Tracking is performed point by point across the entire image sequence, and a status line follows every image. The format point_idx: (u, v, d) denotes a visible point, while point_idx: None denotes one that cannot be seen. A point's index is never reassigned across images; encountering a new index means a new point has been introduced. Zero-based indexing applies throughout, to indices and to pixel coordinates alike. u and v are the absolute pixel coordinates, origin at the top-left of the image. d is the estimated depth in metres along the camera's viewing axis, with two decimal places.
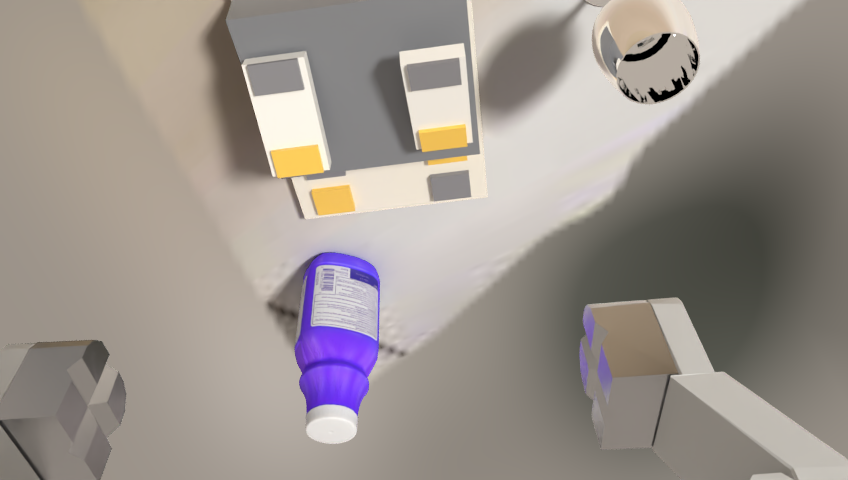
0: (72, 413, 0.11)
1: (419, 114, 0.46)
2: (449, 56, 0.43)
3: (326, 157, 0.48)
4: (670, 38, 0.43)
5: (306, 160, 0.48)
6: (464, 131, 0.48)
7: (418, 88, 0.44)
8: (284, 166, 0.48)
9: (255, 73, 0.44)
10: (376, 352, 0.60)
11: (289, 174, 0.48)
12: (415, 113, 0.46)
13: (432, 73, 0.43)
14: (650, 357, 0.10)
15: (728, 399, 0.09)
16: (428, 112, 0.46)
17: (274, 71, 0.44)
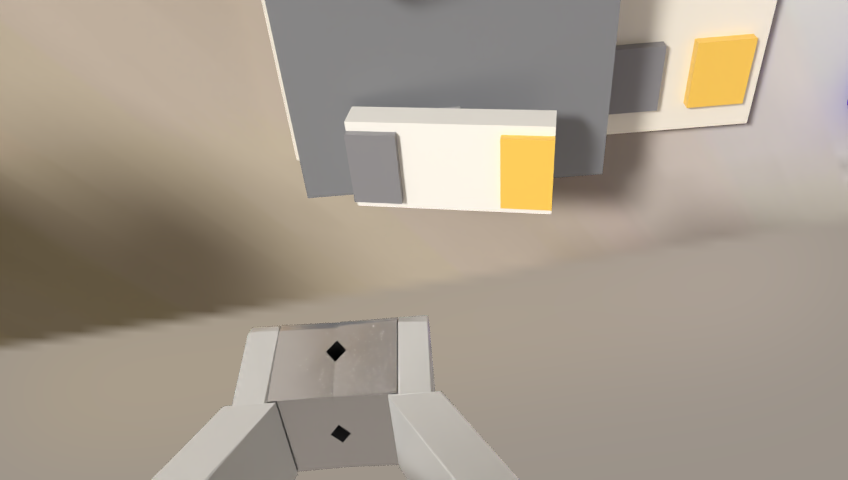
0: None
1: None
2: None
3: (530, 126, 0.26)
4: None
5: (525, 161, 0.26)
6: None
7: None
8: (531, 196, 0.27)
9: (365, 194, 0.29)
10: None
11: (547, 193, 0.27)
12: None
13: None
14: (376, 376, 0.10)
15: (433, 418, 0.10)
16: None
17: (363, 169, 0.28)
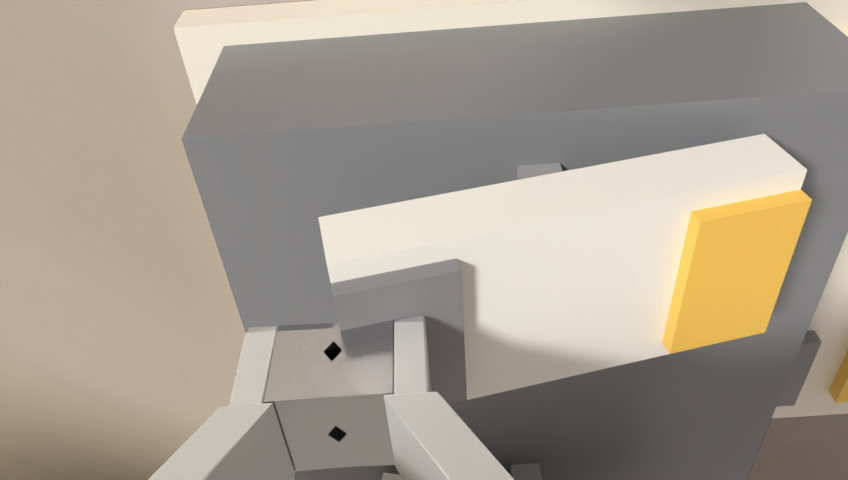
0: None
1: (590, 350, 0.13)
2: None
3: None
4: None
5: None
6: (721, 224, 0.11)
7: (457, 385, 0.13)
8: None
9: None
10: None
11: None
12: (581, 361, 0.13)
13: None
14: (372, 376, 0.10)
15: (428, 419, 0.10)
16: (590, 328, 0.13)
17: None
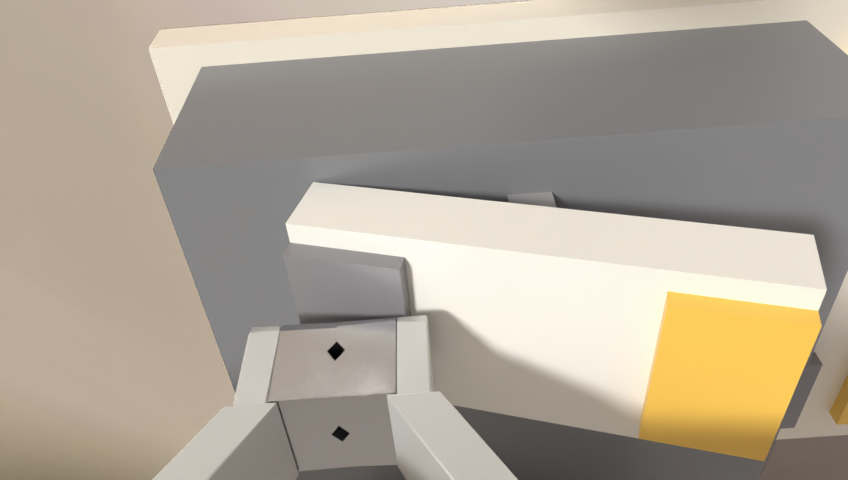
0: None
1: (553, 400, 0.12)
2: None
3: None
4: None
5: None
6: (693, 315, 0.10)
7: None
8: None
9: None
10: None
11: None
12: (544, 408, 0.13)
13: None
14: (375, 376, 0.10)
15: (432, 419, 0.10)
16: (552, 378, 0.12)
17: None
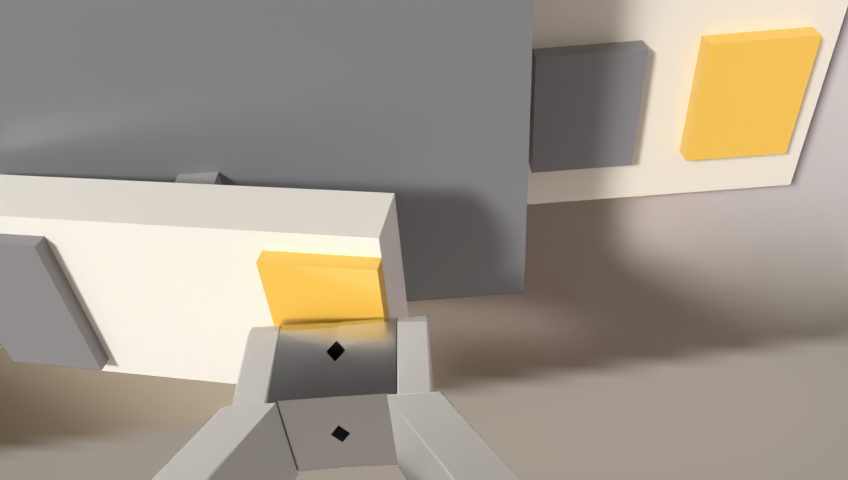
0: None
1: None
2: None
3: (323, 234, 0.11)
4: None
5: (321, 309, 0.12)
6: None
7: None
8: None
9: (25, 350, 0.14)
10: None
11: None
12: None
13: None
14: (375, 376, 0.10)
15: (432, 418, 0.10)
16: None
17: (2, 306, 0.13)
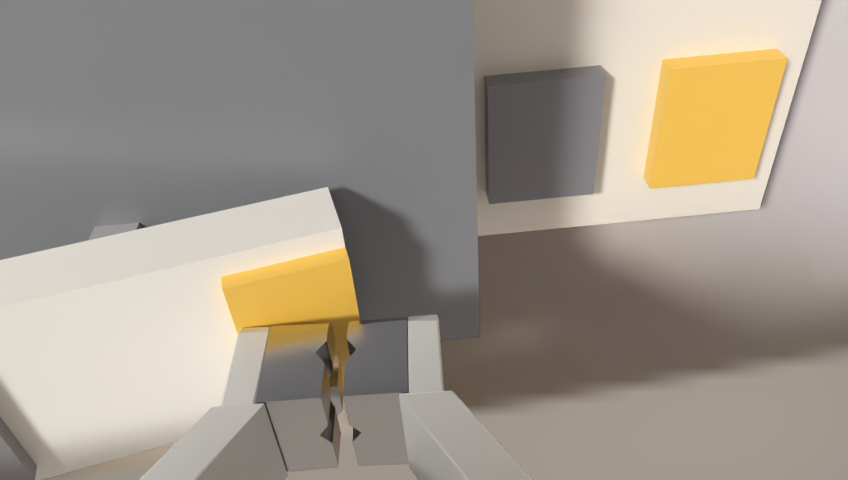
0: (327, 396, 0.10)
1: None
2: None
3: (283, 241, 0.11)
4: None
5: (294, 317, 0.12)
6: None
7: None
8: None
9: None
10: None
11: None
12: None
13: None
14: (387, 375, 0.10)
15: (445, 418, 0.10)
16: None
17: None
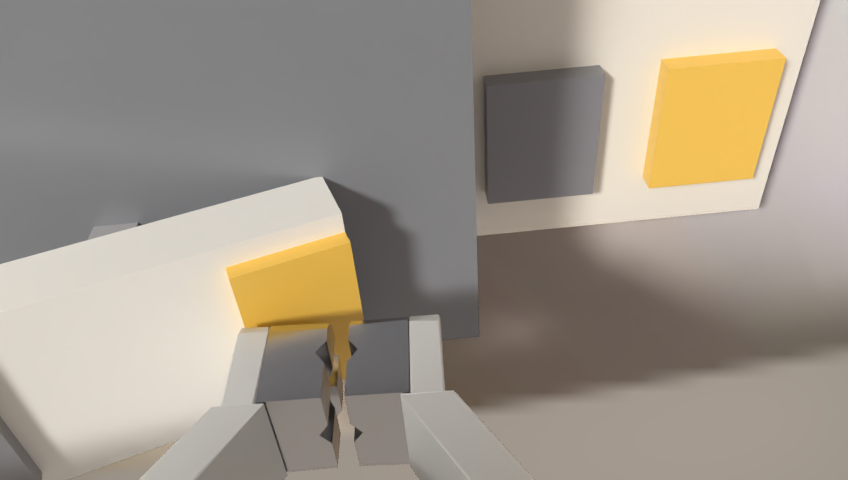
0: (326, 396, 0.10)
1: None
2: None
3: (286, 228, 0.11)
4: None
5: (298, 304, 0.12)
6: None
7: None
8: None
9: None
10: None
11: None
12: None
13: None
14: (388, 375, 0.10)
15: (446, 417, 0.10)
16: None
17: None
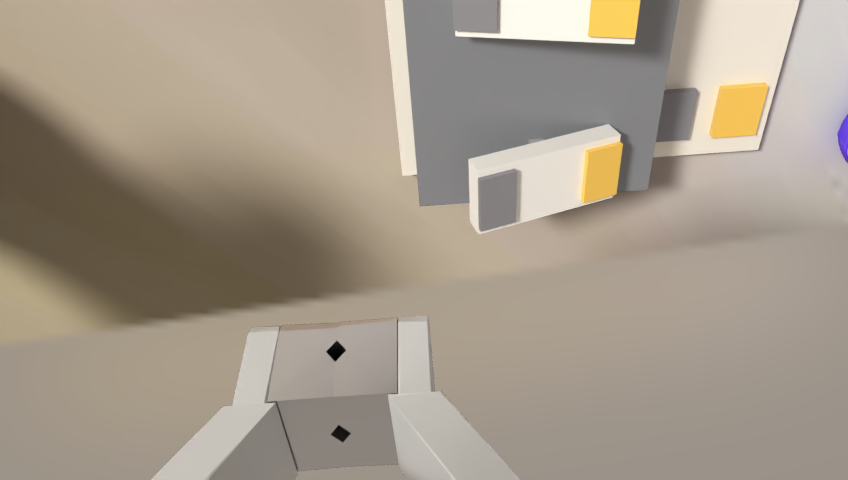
0: None
1: (554, 26, 0.31)
2: None
3: (604, 138, 0.36)
4: None
5: (603, 164, 0.37)
6: None
7: (493, 21, 0.31)
8: (604, 188, 0.38)
9: (490, 223, 0.36)
10: None
11: (615, 182, 0.38)
12: (550, 32, 0.31)
13: None
14: (376, 376, 0.10)
15: (433, 419, 0.10)
16: (553, 13, 0.31)
17: (490, 203, 0.36)
